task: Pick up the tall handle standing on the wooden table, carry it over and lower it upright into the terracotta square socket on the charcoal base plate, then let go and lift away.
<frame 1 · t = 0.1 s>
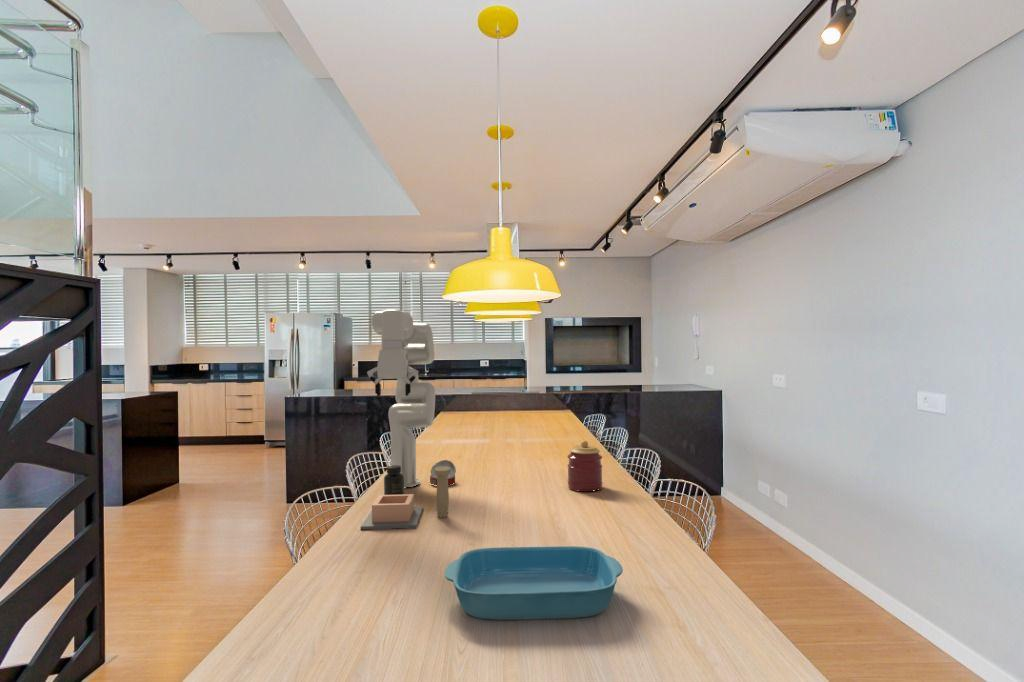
hand: (393, 395, 177), 37 cm above the table, tool pointing down, fingers open, 9 cm apart
supplement bottle: (394, 502, 178), on the table
casserole dish: (533, 600, 107), on the table
handle: (442, 517, 161), on the table
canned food: (442, 484, 202), on the table
canister: (585, 488, 193), on the table
socket: (393, 519, 159), on the table
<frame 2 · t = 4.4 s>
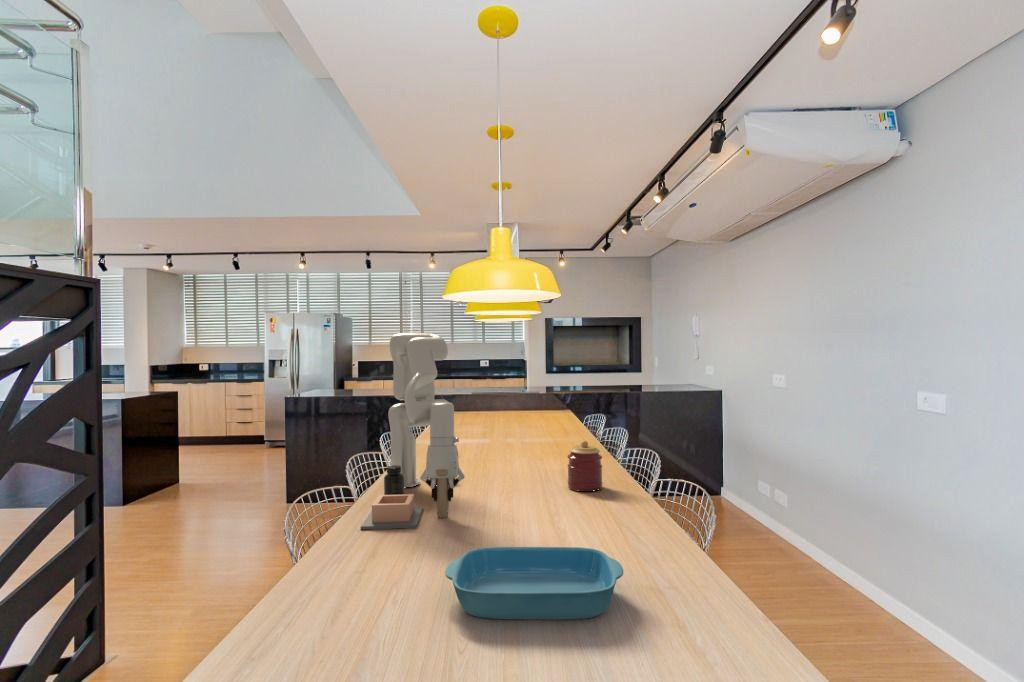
hand: (442, 499, 161), 5 cm above the table, tool pointing down, fingers closed on handle, 3 cm apart
handle: (442, 517, 161), on the table, touching gripper
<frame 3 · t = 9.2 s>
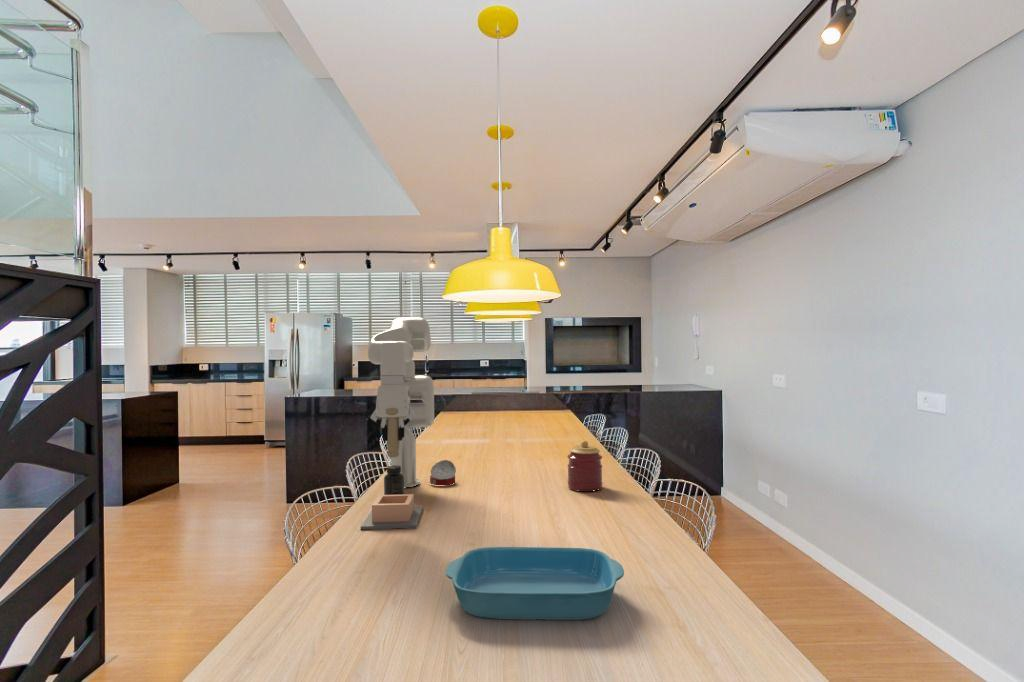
hand: (393, 439, 160), 25 cm above the table, tool pointing down, fingers closed on handle, 3 cm apart
handle: (393, 457, 159), point 19 cm above the table, touching gripper
everything else where it was.
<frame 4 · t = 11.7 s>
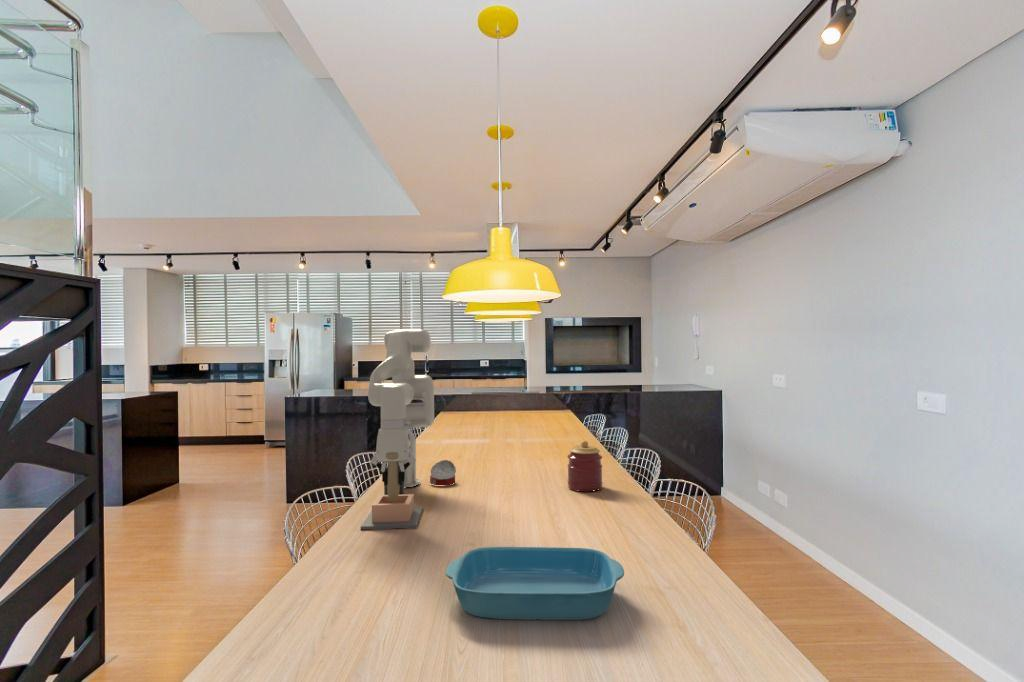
hand: (393, 483, 159), 11 cm above the table, tool pointing down, fingers closed on handle, 3 cm apart
handle: (393, 501, 159), point 6 cm above the table, touching gripper
everything else where it was.
when the fingers open (8 cm above the table, at t = 13.8 s): handle drops 1 cm, resting on socket.
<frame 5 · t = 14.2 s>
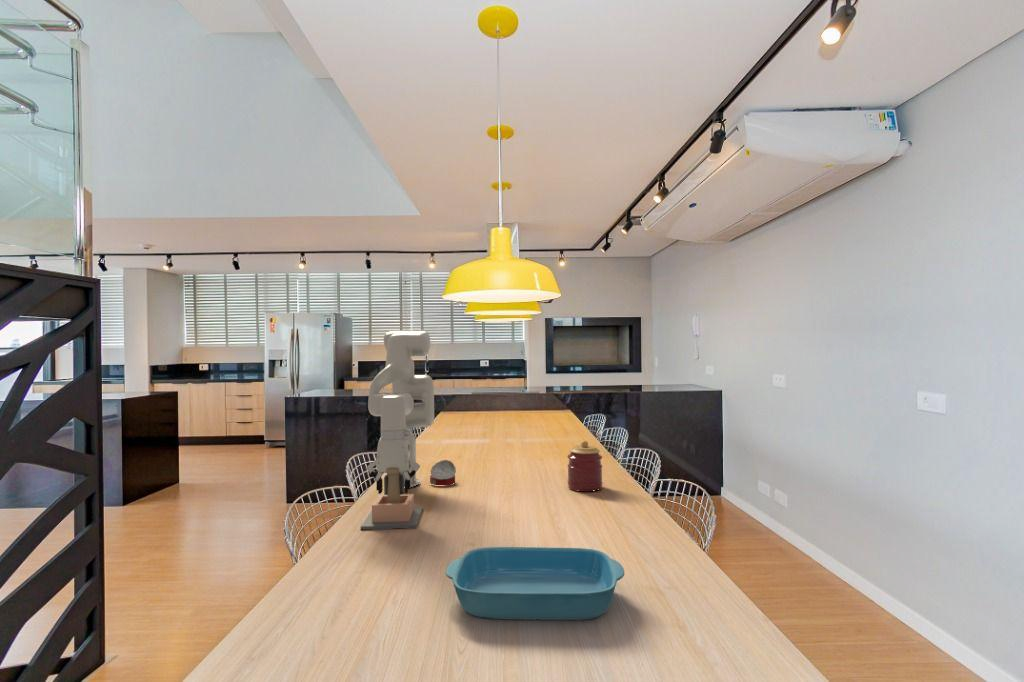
hand: (393, 491, 159), 8 cm above the table, tool pointing down, fingers open, 7 cm apart
handle: (393, 516, 159), point 1 cm above the table, touching socket
everything else where it was.
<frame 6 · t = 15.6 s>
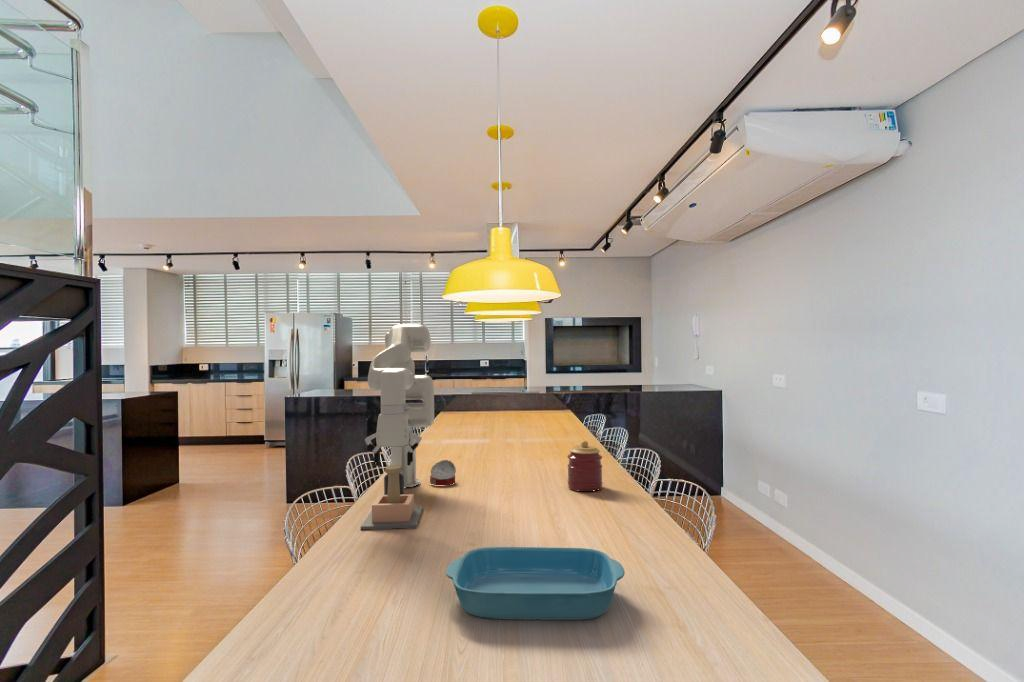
hand: (393, 464, 160), 17 cm above the table, tool pointing down, fingers open, 9 cm apart
nothing on the table moved.
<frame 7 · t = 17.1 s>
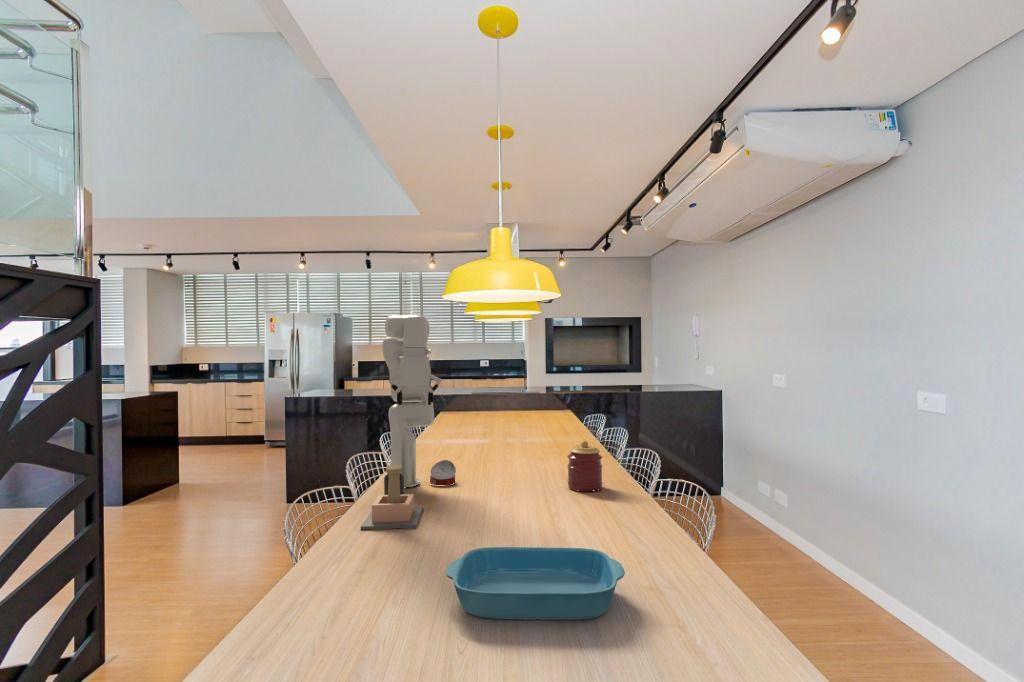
hand: (415, 404, 171), 34 cm above the table, tool pointing down, fingers open, 9 cm apart
nothing on the table moved.
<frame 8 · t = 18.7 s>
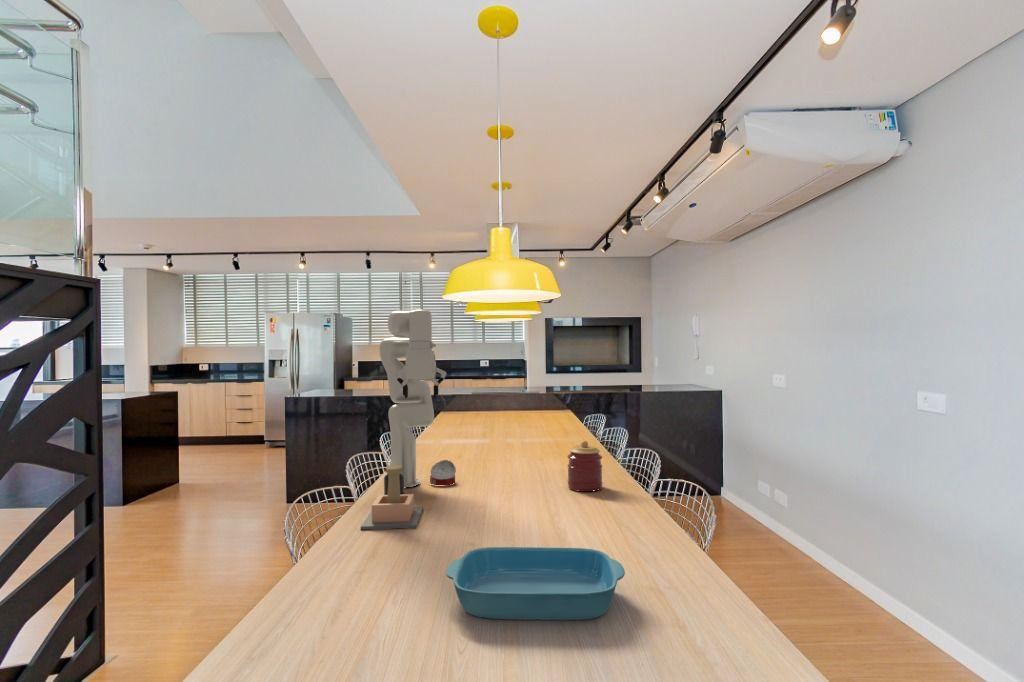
hand: (420, 397, 173), 36 cm above the table, tool pointing down, fingers open, 9 cm apart
nothing on the table moved.
at the end: handle 0.2 cm off-centre on the socket, point 0.8 cm above the socket's base; handle tilted 0°; the gripper is holding nothing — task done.
